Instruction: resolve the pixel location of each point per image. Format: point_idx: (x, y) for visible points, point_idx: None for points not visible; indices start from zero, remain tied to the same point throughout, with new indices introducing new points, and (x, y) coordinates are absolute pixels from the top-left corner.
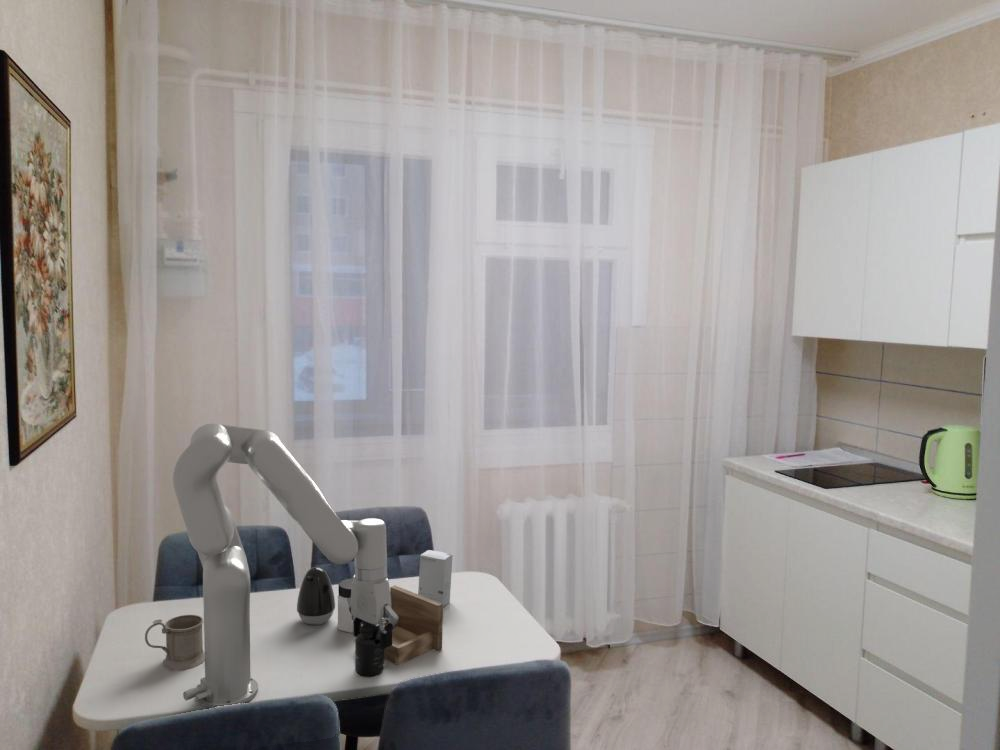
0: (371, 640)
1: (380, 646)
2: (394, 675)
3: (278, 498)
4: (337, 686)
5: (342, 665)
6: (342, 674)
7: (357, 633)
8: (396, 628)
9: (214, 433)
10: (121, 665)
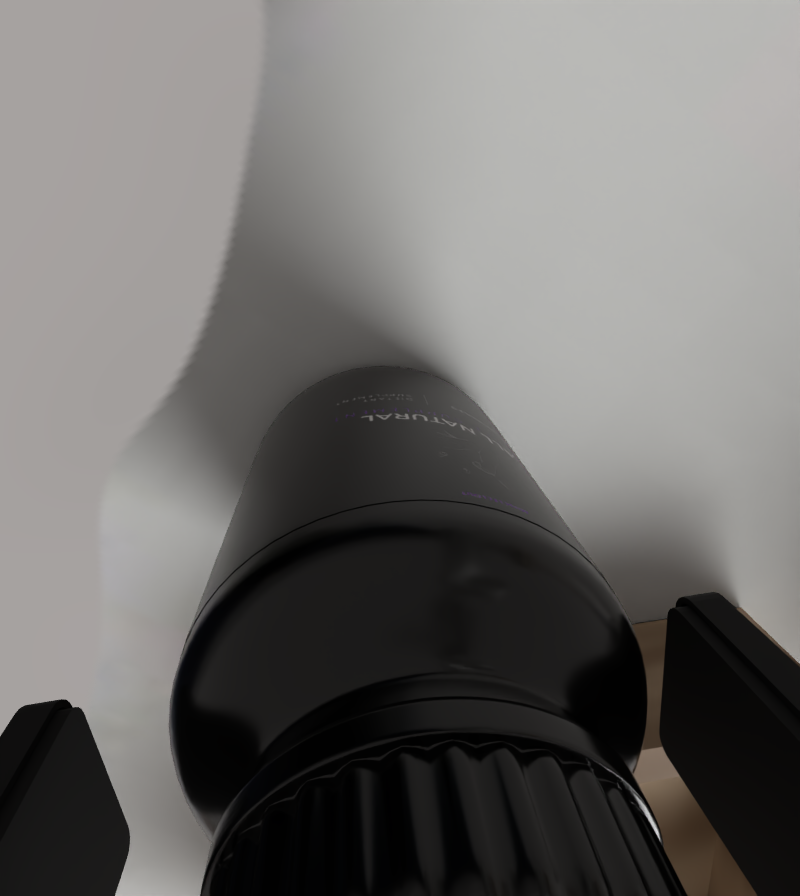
0: (204, 711)
1: (60, 723)
2: (184, 591)
3: None
4: (323, 77)
5: (626, 356)
6: (494, 264)
7: (695, 658)
8: (688, 888)
9: None
10: None
